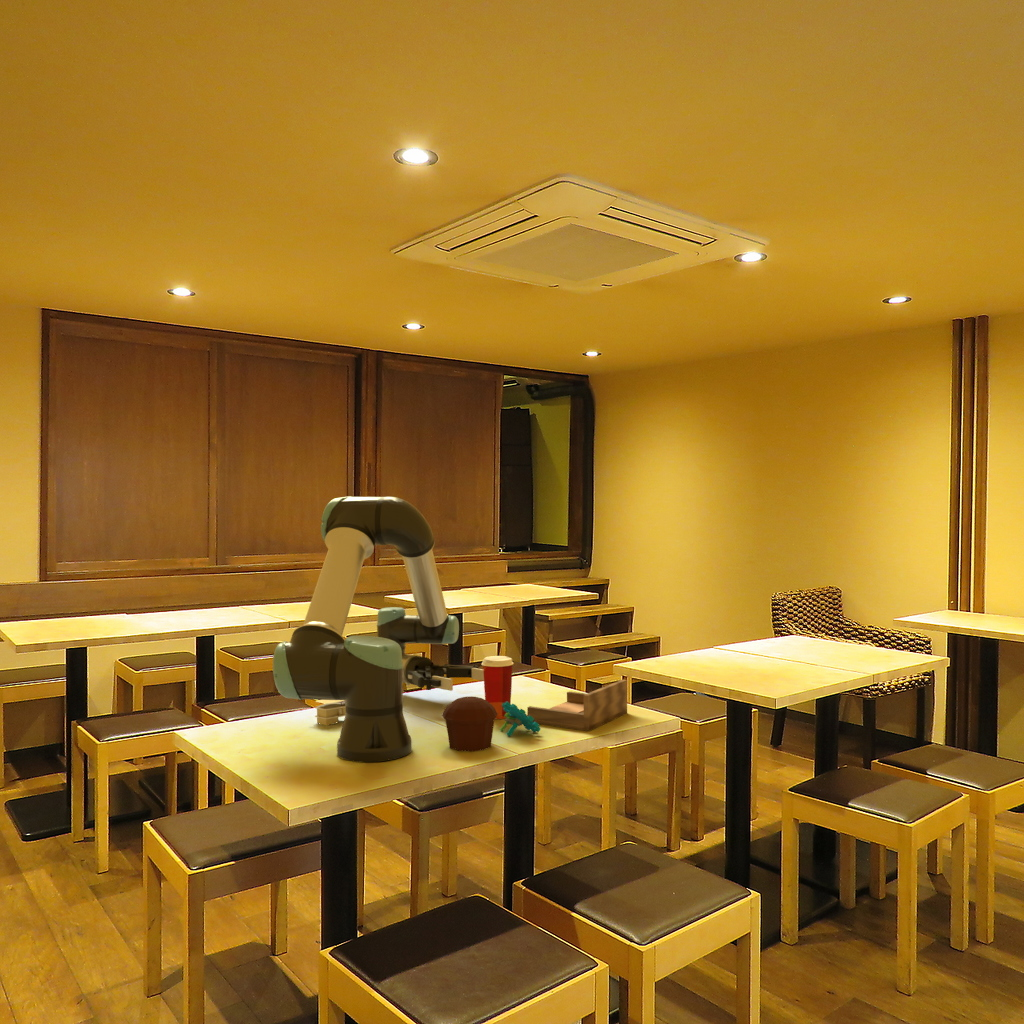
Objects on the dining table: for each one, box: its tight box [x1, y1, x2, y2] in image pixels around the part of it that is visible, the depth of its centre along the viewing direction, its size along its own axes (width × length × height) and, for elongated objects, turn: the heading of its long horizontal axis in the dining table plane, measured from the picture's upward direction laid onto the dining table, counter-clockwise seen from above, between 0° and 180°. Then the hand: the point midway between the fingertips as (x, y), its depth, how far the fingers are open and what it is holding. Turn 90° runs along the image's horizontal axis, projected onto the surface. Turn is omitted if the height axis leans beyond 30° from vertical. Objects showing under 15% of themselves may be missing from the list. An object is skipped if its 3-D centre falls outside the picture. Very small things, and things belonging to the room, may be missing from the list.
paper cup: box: [481, 655, 514, 720], centre depth 205 cm, size 8×8×14 cm
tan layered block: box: [314, 700, 346, 726], centre depth 201 cm, size 10×9×6 cm
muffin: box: [441, 695, 498, 753], centre depth 180 cm, size 12×11×10 cm
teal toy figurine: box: [499, 701, 541, 737], centre depth 189 cm, size 11×6×10 cm
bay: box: [526, 679, 628, 732], centre depth 203 cm, size 20×16×8 cm
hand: (471, 680), depth 211 cm, fingers open, 13 cm apart
